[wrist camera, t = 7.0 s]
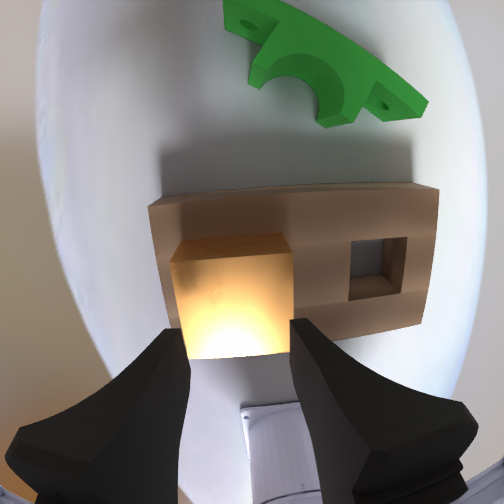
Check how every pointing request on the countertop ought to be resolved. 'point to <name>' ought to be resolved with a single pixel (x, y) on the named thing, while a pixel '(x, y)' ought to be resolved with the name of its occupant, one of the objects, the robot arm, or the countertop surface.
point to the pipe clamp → (320, 63)
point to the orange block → (234, 295)
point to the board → (319, 246)
